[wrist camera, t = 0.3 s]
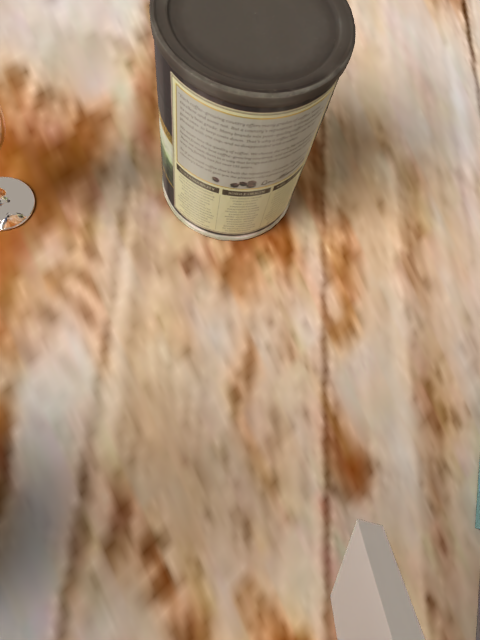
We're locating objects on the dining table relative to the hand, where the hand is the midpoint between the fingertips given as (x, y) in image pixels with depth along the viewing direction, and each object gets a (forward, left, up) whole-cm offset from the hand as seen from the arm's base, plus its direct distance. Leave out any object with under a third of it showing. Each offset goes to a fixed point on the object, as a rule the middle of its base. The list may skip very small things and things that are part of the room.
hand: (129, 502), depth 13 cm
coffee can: (+23, +1, -16) cm, 28 cm away
